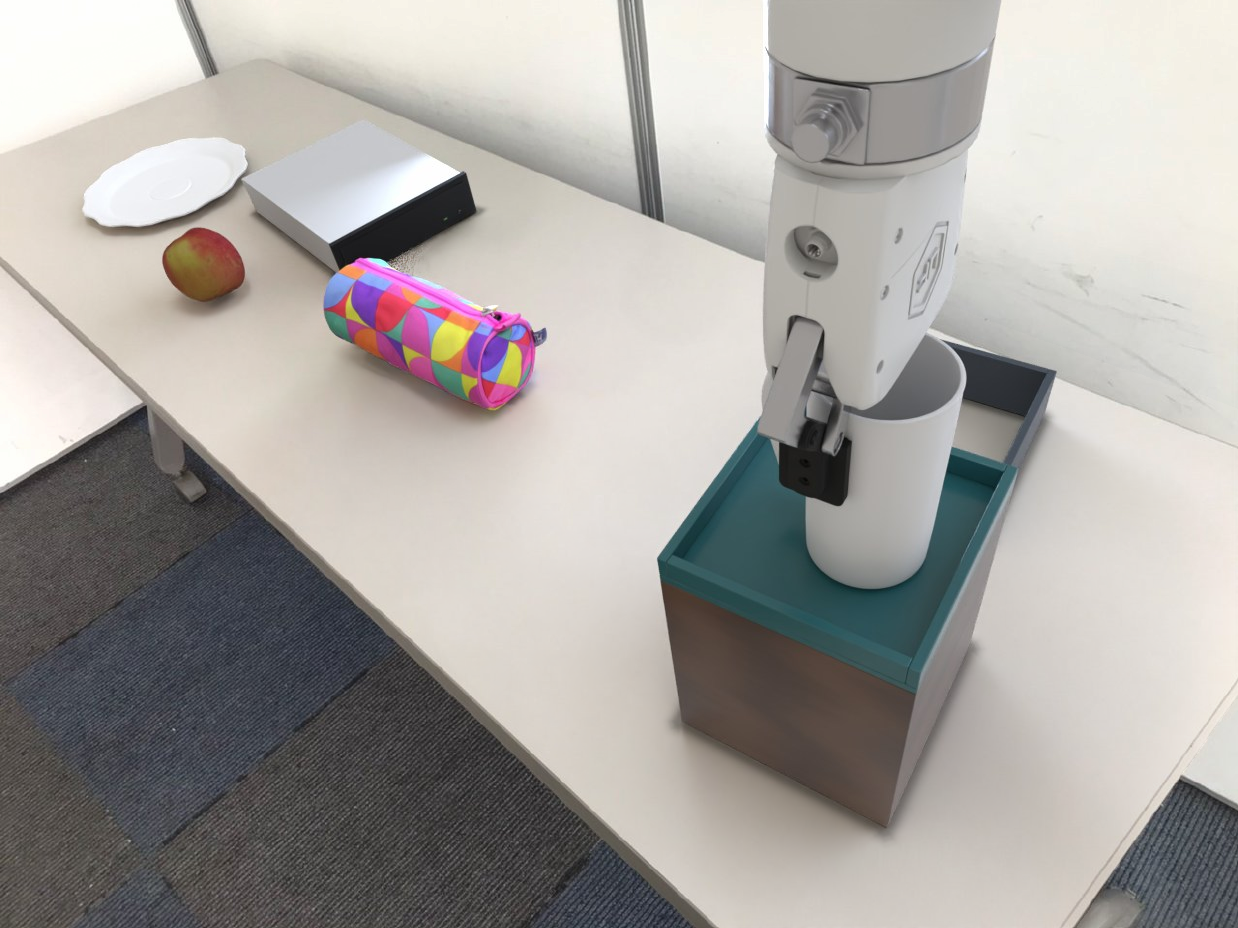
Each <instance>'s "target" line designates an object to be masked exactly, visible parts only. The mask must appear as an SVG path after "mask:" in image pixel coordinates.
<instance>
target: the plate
mask: <svg viewBox="0 0 1238 928" xmlns="http://www.w3.org/2000/svg"><path fill="white" fill-rule="evenodd" d="M246 154H247V150H246V148H245V147H244V146H243V145H241V144H238V143H234V142H232V141H230V140H228V139H226V138H224V137H218V136H213V137H204V138H201V137H200V138H198V137H188V138H181V139H177V140H174V141H171V142H168V143H165V144H161V145H156V146H151V147H148V148H146V149H143V150H141V151H138V152H136V153H135V154H133V155H131V156H130V157H128V158H126V159H124V160H122V161H119V162H117V163H116V164H113V165H112V166H110V167H109V168H107V169H106V170H104V171H103V172H102V173H101V175H99V177H98V178H97V180H95V182H93V183H92V184H91V185H90V186H88V187H87V188H86V189H85V191H84V193H83V195H82V196H83V197H82V198H83V201H84V202H83V206H82V208H81V211H82V214H83V215H84V216H85V218H88V219H91V220H93V221H94V220H95V222H97V223H98V224H99V226H103V227H108V228H117V227H135V228H142V227H148V226H153V225H156V224H159V223H164V222H167V221H172V220H175V219H178V218H182V217H185V216H187V215H189V214H192V213H194V212H196V211H198V210H199V209H201V208H204V207H206V206H207V205H208V204H210V203H211V202H213V201H214V200H217V199H218V198H220V197H222V196H224V195H225V194H226V193H228V192H229V191H230V190H231V189H233V187H234V185H235V184H236V182H237V180H238V179H239V178H240V177H241V176H242V175H243V174H244V173H245V172H246V171H247V168H248V166H249V163H248V161H247V159H246Z"/></svg>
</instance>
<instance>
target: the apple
mask: <svg viewBox="0 0 1238 928" xmlns="http://www.w3.org/2000/svg"><path fill="white" fill-rule="evenodd" d="M161 262H162V263H161V264H162V268H163V270H164V273H165V275H166V277H167V279H169V282H170V283H171V284H172V286H174V287H175V289H176V290H178V291H179V292H180V293H181V294H183V295H184V296H186V297H187V298H189V299H191V300H194V301H197V302H201V303H202V302H204V303H206V302H211V301H213V300H215V299H217V298H220V297H222V296H224V295H227V294H230V293H231V292H233V291H234V290H235V291H236V289H237V290H238V289H240V287H241V286H242V285H243V283H244V282H245V278H246V269H245V264H244V261H243V259H242V256H241V254H240V253H239V251H238V250H237V248H236V247H235V245H234V244H233V243H232V242H231V241H230V240H229V239H228V238H226V236H224V235H222V234H221V233H219V232H217V231H214V230H212V229H209V228H206V227H201V226H200V227H199V226H198V227H192V228H189V229H188V230H187V231H186V232H184V233H183V234H182V235H180V236H179V237H177V238H176V239H174V240H172V241H171V242H170V243H169V245H167V246H166V247H165V249H164V251H163V253H162V258H161Z"/></svg>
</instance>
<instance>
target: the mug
mask: <svg viewBox="0 0 1238 928" xmlns="http://www.w3.org/2000/svg"><path fill="white" fill-rule="evenodd" d="M940 339H941V338H938V337H937V336H935V335H933V334H931V333H928V332H926V334H925V335H924V337H923V339H922V340H921V342H920V343H919V345H918V347H917V348H916V350H915V351H914V353H913V355H912V356H911V358H910V359H909V361H908V362H907V364H906V365H905V367H904V369H903V370H902V372H901V373H900V375H899V376H898V378H897V379H896V381H895V383H894V384H893V386H892V387H891V389H890V390H889V391H888V393H887V394H886V395H885V397H884V398H883V399H882V400H881V401H879V402H878V403H877V404H875V405H874V406H872V407H870V408H868V409H865V410H860V409H857V408H855V407H851V411H850V415H849V419H848V423H847V427H846V431H845V435H844V437H846V438H848V439H849V440H851V441H852V448H851V460H850V471H849V483H848V495H847V498H846V500H845V501H844V503H843V504H842V505H841V506H834V505H831V504H829V503H826V502H823V501H820V500H818V499H815V498H809V497H806V543H807V548H808V551H809V554H810V556H811V558H812V560H813V561H814V563H815V564H816V565H817V566H818V568H819V569H820V570H821V571H823V572H824V573H825V574H826V575H828V576H829V577H831V578H832V579H834V580H836V581H838V582H840V583H842V584H845V585H848V586H852V587H856V588H862V589H881V588H887V587H891V586H894V585H897V584H900V583H902V582H904V581H906V580H907V579H909V578H910V577H911V576H913V575H914V574H915V573H916V572H917V571H918V570H919V568H920V567H921V565H922V564H923V562H924V560H925V557H926V554H927V550H928V546H929V542H930V538H931V535H932V531H933V527H934V522H935V518H936V513H937V509H938V504H939V499H940V495H941V491H942V486H943V482H944V477H945V473H946V469H947V464H948V460H949V456H950V451H951V447H953V443H954V438H955V433H956V429H957V425H958V420H959V416H960V412H961V411H960V410H961V407H962V401H963V397H962V396H963V391H964V389H965V385H966V371H965V367H964V365H963V362H962V361H961V359H960V357H959V356H958V355H957V353H956V352H955V351H954V350H953V349H952V348H951V347H950V346H949V345H947V344H946V343H945V342H943V341H942V340H943V339H941V340H940ZM819 371H822V372H825V373H826V371H825V368H824V365H823V360H822V363H821V366H820V368H819ZM772 383H773V380H772V379H771V377H770V376H769V374H768V372H767V373H766V375H765V377H764V380H763V382H762V387H761V409H762V411H763V409H764V406H765V403H766V400H767V397H768V395H769V392H770V389H771V386H772ZM832 401H833V398H832V397H829V396H825V395H822V394H819V393H816V392H813V391H811V394H810V396H809V399H808V402H807V417H809V418H812V419H815V420H818V421H821V422H824V423H827V421H828V417H829V413H830V409H831V405H832ZM770 440H771V443H772V446H773V449H774V452H775V455H776V458H777V461H778V464H779V442H778V441H775V440H772V439H770Z"/></svg>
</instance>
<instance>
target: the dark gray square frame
mask: <svg viewBox="0 0 1238 928" xmlns="http://www.w3.org/2000/svg"><path fill="white" fill-rule="evenodd" d="M939 339H940V340H942V341H943V342H945V343H946V344H947V345H949V346H950V347H951V348H952V349H953V350H954V351H955V352H956V353H957V355H958V356H959V357H960V359H961V361H962V362H963V365H964V367H965V371H966V385H965V389H964V391H963V396H962V399H967V400H969V401H973V402H976V403H979V404H982V405H987V406H990V407H992V408H996V409H999V410H1003V411H1007V412H1010V413H1013V414H1017V415H1020V416H1024V419H1023V422H1022V423H1021V425H1020V427H1019V430H1018V431H1017V434H1016V436H1015V437H1014V439H1013V441H1012V443H1011V445H1010V448H1009V450H1008V452H1007V454H1006V455H1005V458H1004V459H1003V462H1002V463H1005V464H1007V465H1011V466H1014V467H1017V468H1018V471H1019V469H1020V468H1021V466H1022V464H1023V461H1024V459H1025V457H1026V455H1027V453H1028V450H1029V449H1030V446H1031V444H1032V443H1033V441H1034V438H1035V436H1036V434H1037V432H1038V430H1039V429H1040V426H1041V424H1042V422H1043V419H1044V418H1045V415H1046V410H1047V407H1048V403H1049V400H1050V397H1051V394H1052V390H1053V387H1054V383H1055V379H1056V376H1057V373H1058V371H1057V370H1055V369H1050V368H1047V367H1043V366H1041V365H1037V364H1033V363H1030V362H1025V361H1021V360H1018V359H1014V358H1011V357H1008V356H1004V355H1000V354H996V353H993V352H989V351H985V350H981V349H977V348H974V347H971V346H968V345H964V344H959V343H957V342H956V343H955V342H952V341H948V340H945V339H941V338H939Z"/></svg>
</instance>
